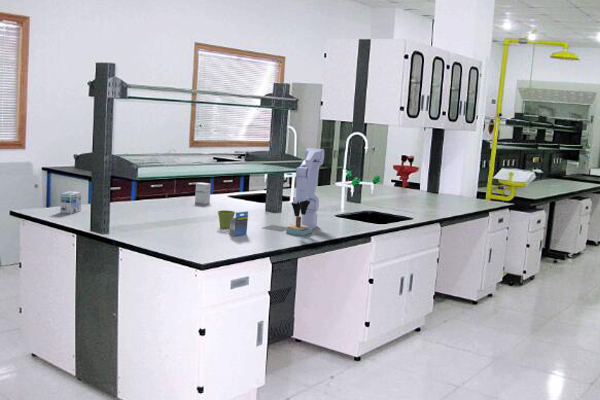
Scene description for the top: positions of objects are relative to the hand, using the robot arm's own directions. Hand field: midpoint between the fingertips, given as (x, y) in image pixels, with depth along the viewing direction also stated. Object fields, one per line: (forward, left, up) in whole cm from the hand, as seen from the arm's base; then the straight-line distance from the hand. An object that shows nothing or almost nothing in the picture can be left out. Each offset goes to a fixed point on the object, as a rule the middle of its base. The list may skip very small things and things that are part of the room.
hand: (300, 215), depth 341 cm
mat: (-3, -15, -10) cm, 18 cm away
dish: (0, 0, -10) cm, 10 cm away
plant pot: (+15, -36, -10) cm, 40 cm away
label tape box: (+25, -22, -10) cm, 35 cm away
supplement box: (-40, -89, -10) cm, 98 cm away
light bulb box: (+40, -121, -10) cm, 128 cm away
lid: (0, -1, -7) cm, 7 cm away
